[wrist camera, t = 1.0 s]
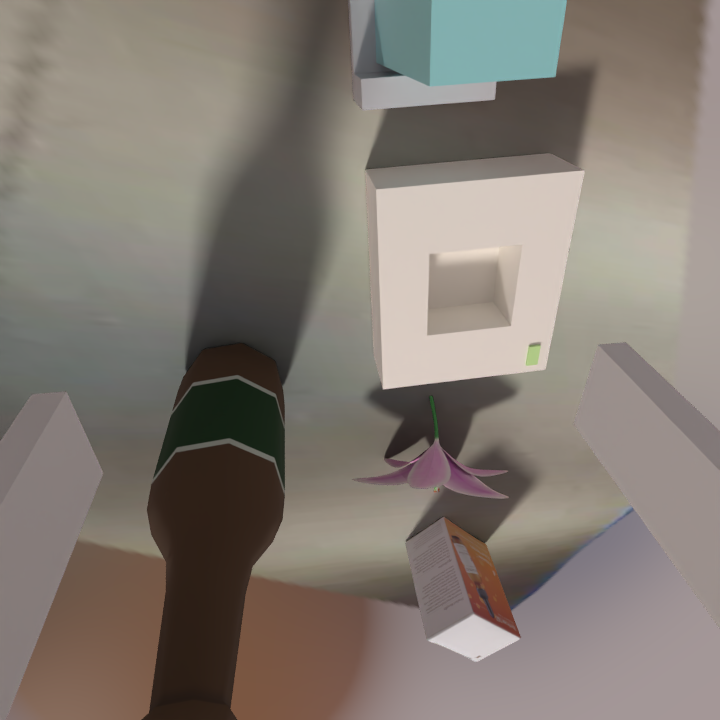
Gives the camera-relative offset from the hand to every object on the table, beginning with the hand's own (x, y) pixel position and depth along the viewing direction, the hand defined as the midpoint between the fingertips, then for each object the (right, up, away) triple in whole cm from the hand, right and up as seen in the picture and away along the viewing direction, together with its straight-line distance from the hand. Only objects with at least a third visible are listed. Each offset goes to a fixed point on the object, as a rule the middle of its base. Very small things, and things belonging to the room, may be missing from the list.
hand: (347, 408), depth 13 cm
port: (+7, +8, +23) cm, 25 cm away
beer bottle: (-9, 0, +26) cm, 28 cm away
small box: (+10, -19, +42) cm, 47 cm away
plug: (+3, +20, +13) cm, 24 cm away
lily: (+6, -5, +32) cm, 33 cm away
